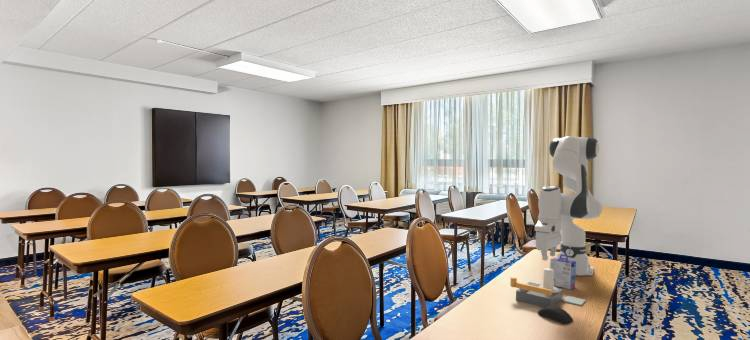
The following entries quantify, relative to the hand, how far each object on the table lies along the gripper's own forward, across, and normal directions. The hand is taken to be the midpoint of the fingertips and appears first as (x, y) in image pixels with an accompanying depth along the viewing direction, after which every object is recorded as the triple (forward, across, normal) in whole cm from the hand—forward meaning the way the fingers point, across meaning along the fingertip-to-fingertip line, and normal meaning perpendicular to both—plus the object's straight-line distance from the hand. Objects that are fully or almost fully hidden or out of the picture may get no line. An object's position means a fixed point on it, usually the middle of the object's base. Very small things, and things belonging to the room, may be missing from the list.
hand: (548, 257), depth 160 cm
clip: (+13, +8, -4) cm, 16 cm away
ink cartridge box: (+18, -23, -1) cm, 30 cm away
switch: (+18, +1, -3) cm, 18 cm away
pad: (+18, -6, +8) cm, 21 cm away
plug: (+18, 0, 0) cm, 18 cm away
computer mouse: (+19, +16, +8) cm, 26 cm away
